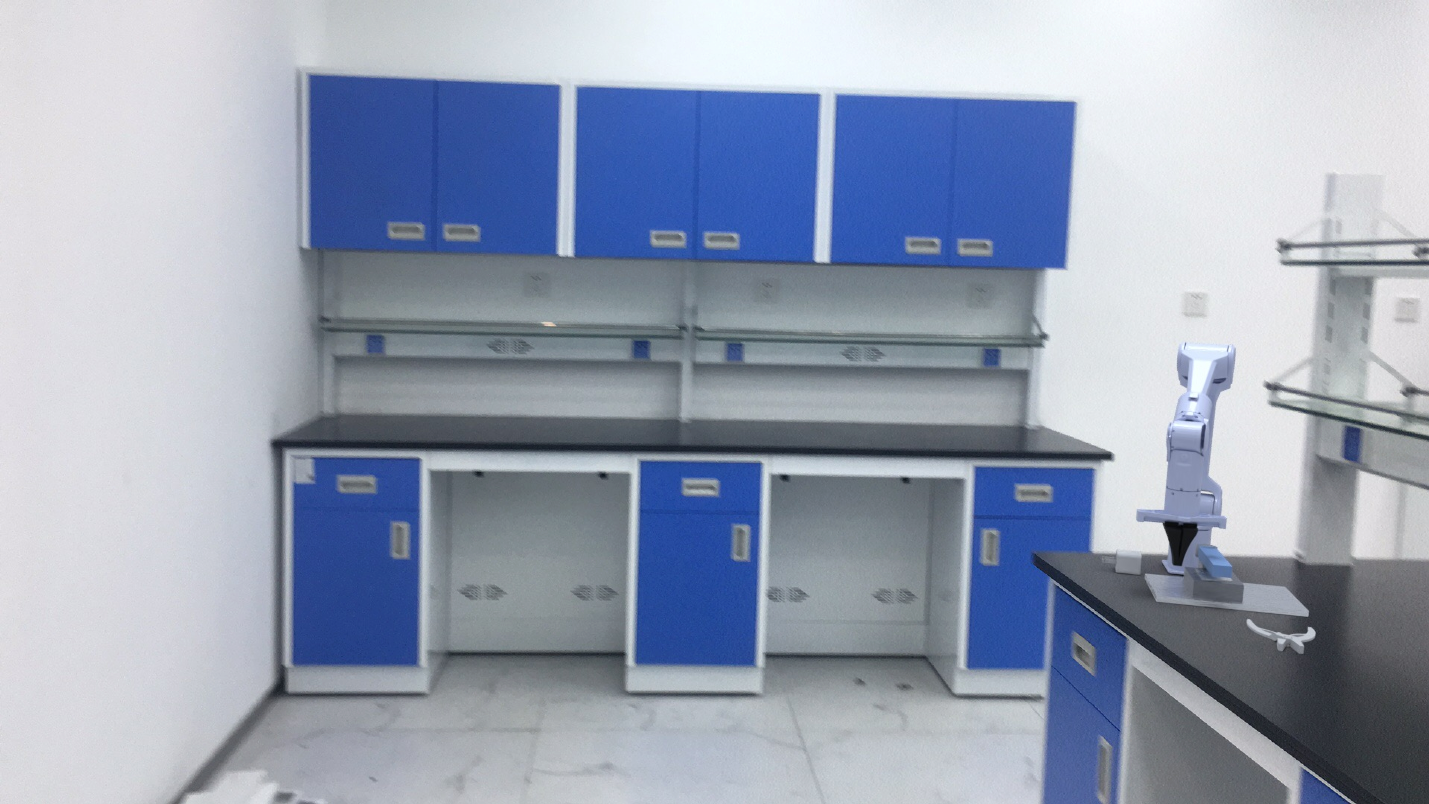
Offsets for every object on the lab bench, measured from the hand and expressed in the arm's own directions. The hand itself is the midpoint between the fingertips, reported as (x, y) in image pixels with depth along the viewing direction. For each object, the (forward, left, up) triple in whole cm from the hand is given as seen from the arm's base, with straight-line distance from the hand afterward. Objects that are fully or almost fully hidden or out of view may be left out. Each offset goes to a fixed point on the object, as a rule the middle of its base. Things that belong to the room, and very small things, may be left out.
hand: (1176, 564), depth 196 cm
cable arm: (-2, +6, 0) cm, 7 cm away
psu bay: (-2, +8, -6) cm, 10 cm away
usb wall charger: (-15, -8, -6) cm, 18 cm away
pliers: (+20, +13, -6) cm, 25 cm away
